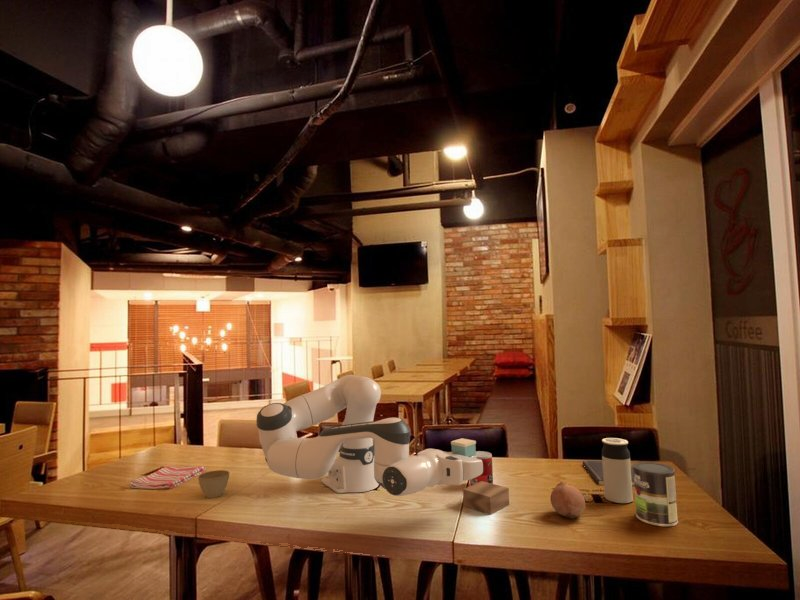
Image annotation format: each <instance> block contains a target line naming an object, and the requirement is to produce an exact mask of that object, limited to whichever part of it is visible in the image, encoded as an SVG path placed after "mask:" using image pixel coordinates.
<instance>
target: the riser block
mask: <svg viewBox="0 0 800 600" xmlns="http://www.w3.org/2000/svg"><path fill="white" fill-rule="evenodd" d="M462 498H463V499H462V500H463V507H467V508H469V509H473V510H475V511H478V512H481V513H484V514H487V513H488V514H487V515H491V516H492V515H493V514H495V513H497V512H498V511H501V510H503V509H504V508H506V507H508V506H510V488H509V487H506V486H503V485H498V484H495V483H493V484H491V483H487V482H484V481H481V482H478V483H476V484H474V485H472V486H471V485H469V486H467V487H465V488H462Z"/></svg>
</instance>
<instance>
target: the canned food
mask: <svg viewBox="0 0 800 600" xmlns="http://www.w3.org/2000/svg"><path fill="white" fill-rule="evenodd" d="M476 457H477V459H481V460H482V462H483V473H482V474H481V475H480V476H478V477H475V478H473V479H471V480H469V486H472V485H474V484H476V483H478V482H481V481H484V482H487V483H491V484H494V475H493V474H494V471H493V455H492V453H491V452H489V451H483V450H482V451H481V450H478V451H477V450H476Z"/></svg>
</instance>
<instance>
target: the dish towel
mask: <svg viewBox="0 0 800 600" xmlns="http://www.w3.org/2000/svg"><path fill="white" fill-rule="evenodd" d="M206 470H207V467H206V466H188V467H177V466H166V467H161V468H160V469H158V470H157V471H155V472H153V473H150V474H149V475H146V476H141V477H138V478H136V479H131V481H130V482H129V483H130V484H129V486H130V488H131V489H141V490H142V489H144V490H162V489H163V490H172V489H174V488H176V487H178V486H180V485H182V484H184V483H185V482H188V481H190V480H192V479H193V478H195V477H198V476H199V475H201V474H203V473H205V471H206Z"/></svg>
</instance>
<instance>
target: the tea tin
mask: <svg viewBox="0 0 800 600" xmlns="http://www.w3.org/2000/svg"><path fill="white" fill-rule="evenodd" d="M476 444H477V441H476V440H474V439H468V438H463V437H462V438H459V439H455V440H452V441H450V445H451V452H452V453H454V454H458V455H463V456H467V457H469V456H470V455H474V456H476V451H477V450H476V449H477V447H476Z"/></svg>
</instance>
